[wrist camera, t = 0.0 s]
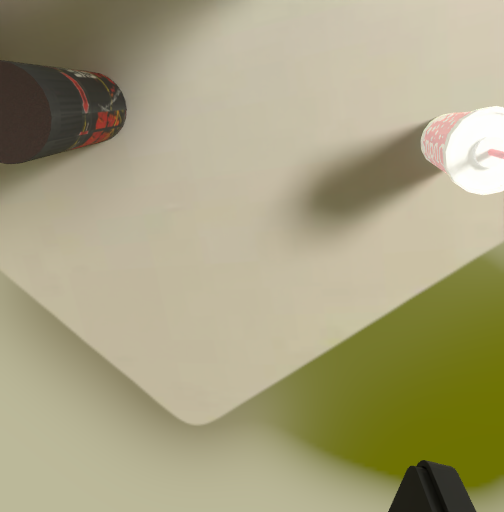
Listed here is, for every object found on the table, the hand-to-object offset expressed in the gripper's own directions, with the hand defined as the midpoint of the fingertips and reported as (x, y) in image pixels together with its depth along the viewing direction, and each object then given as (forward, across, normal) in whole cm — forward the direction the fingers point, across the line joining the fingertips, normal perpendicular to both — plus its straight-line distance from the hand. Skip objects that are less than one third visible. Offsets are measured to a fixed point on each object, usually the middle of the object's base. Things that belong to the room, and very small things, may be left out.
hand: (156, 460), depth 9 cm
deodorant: (+37, +15, -2) cm, 40 cm away
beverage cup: (+37, -16, -7) cm, 41 cm away
